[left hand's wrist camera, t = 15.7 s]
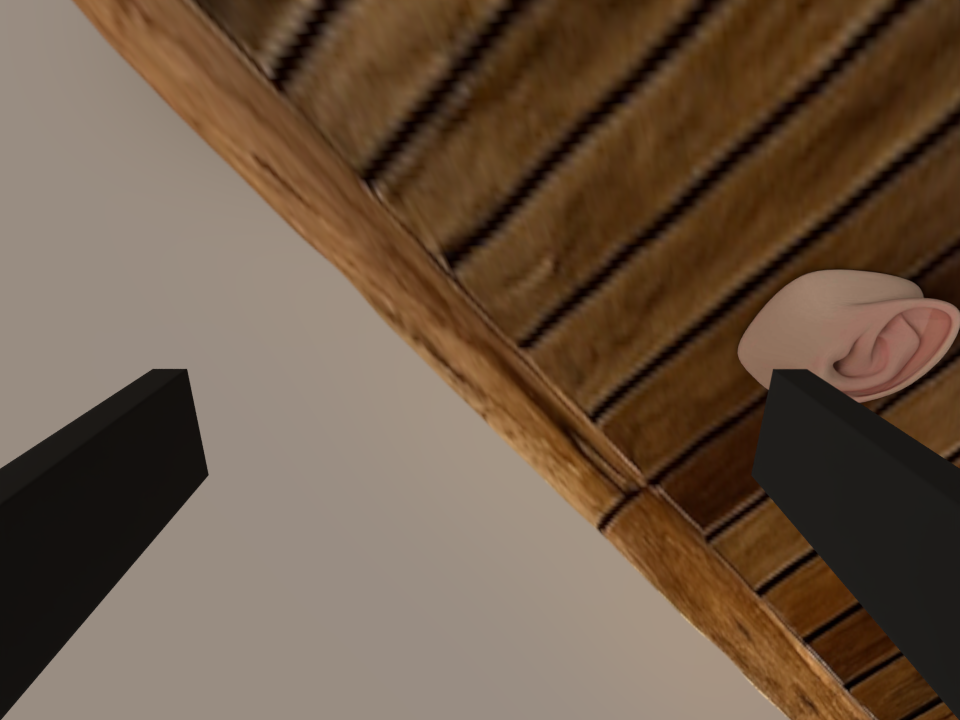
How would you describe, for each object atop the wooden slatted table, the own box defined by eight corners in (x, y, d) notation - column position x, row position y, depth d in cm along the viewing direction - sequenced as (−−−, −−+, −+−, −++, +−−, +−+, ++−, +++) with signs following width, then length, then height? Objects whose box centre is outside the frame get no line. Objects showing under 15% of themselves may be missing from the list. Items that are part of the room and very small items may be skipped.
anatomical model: (742, 402, 41) (815, 252, 37) (720, 381, 44) (784, 243, 40) (901, 443, 42) (988, 303, 38) (867, 419, 46) (942, 289, 42)
